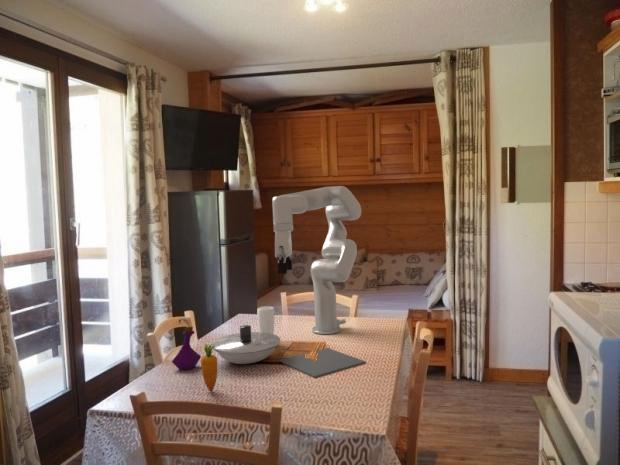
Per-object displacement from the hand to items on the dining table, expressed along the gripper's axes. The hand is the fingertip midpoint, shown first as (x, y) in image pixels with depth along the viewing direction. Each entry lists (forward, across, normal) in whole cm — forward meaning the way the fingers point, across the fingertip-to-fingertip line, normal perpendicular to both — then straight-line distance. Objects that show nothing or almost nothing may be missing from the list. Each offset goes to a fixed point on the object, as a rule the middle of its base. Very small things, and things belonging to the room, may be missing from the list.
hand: (285, 271), depth 199 cm
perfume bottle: (+31, +25, -32) cm, 51 cm away
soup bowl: (+31, +16, -12) cm, 37 cm away
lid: (+24, +16, -12) cm, 31 cm away
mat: (+30, +17, +16) cm, 38 cm away
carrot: (+31, +46, -15) cm, 57 cm away
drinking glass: (+31, -4, -10) cm, 32 cm away
